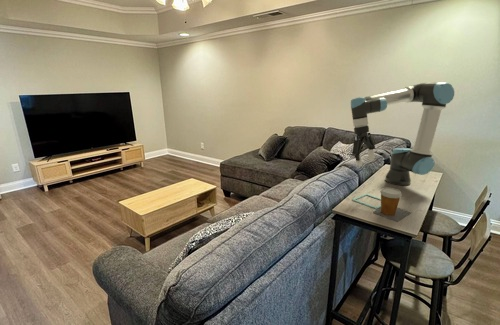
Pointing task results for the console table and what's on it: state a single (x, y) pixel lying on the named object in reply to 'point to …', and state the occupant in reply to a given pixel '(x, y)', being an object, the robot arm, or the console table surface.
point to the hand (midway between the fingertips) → (365, 163)
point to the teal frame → (365, 203)
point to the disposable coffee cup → (389, 200)
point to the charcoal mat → (398, 215)
